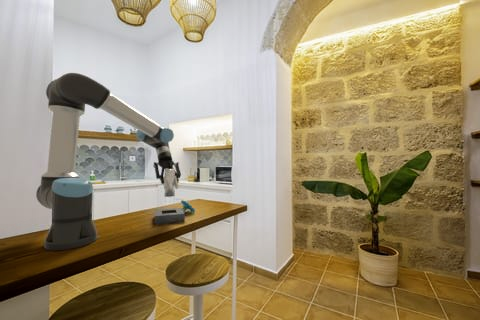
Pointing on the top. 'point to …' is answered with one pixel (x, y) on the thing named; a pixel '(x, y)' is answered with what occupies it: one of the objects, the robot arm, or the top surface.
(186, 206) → the teal irregular piece
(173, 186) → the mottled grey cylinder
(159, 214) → the block
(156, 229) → the top surface
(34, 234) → the top surface
